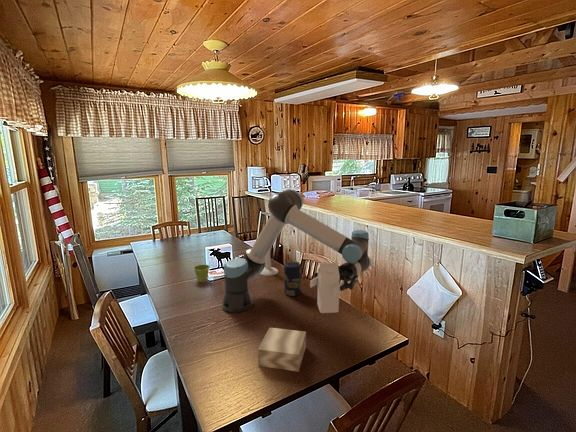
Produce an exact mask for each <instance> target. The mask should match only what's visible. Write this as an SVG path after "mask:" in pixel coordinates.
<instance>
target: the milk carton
mask: <svg viewBox="0 0 576 432" xmlns="http://www.w3.org/2000/svg"><path fill="white" fill-rule="evenodd" d="M338 268H339V263H338V262H326V263H325V262H324V263H319V265H318V269H317V272H318V284H317V294H316V295H317V298H316V299H317V303H316V305H317V307H318V310H319V312H320V314H332V313H333V314H334V313H339V312H340V311H339V305H340V292H339V293H337V294H336V295H334V287H335V286H337V285H338V284H340V275H339V270H338Z"/></svg>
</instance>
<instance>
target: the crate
mask: <svg viewBox="0 0 576 432" xmlns="http://www.w3.org/2000/svg"><path fill="white" fill-rule="evenodd" d="M306 348H307V332H306V331H304V330H303V331H301V330H294V329H286V328H278V327H269V328H268V329H267V332H266V333H265V335H264V337H263V339H262V340H261V342H260V344H259V346H258V348H257V359H258V360H257V363H258V365H257V366H258V367H264V368H271V369H278V370H285V371H291V372H298V373H299V372H300V369H301V365H302V362H303V358H304V354H305V351H306Z"/></svg>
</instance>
